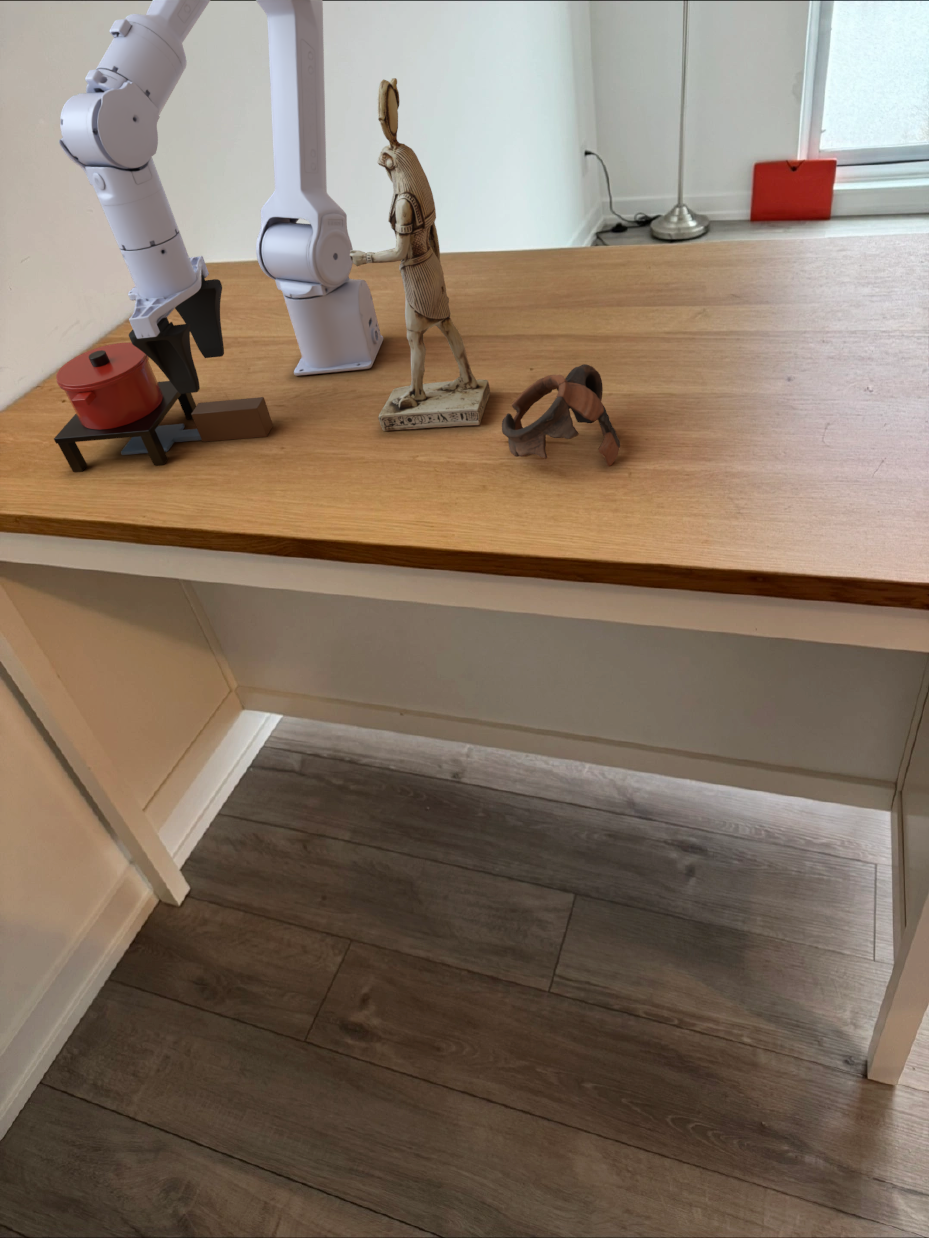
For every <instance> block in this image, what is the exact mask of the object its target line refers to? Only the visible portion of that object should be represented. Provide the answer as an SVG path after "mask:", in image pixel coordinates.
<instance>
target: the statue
mask: <svg viewBox="0 0 929 1238" xmlns="http://www.w3.org/2000/svg"><path fill="white" fill-rule="evenodd" d="M397 84H398V79H397V78H395V77H393V78H391V79H390V80H386V79H382V80H381V81H380V82H379V86H378V89H377V96H376V97H377V98H376V105H377V118H378V119H377V120H378V122H379V124H380V126H381V130H382V133H383V136H384V137H385V138H386V140H387V141H388V143H389V144H387V145H385V146H384V147H382V149H381V151H380V152H379V155H378V158H377V161H376V163H377V164H378V165H379V166H380V167H382V168H384V169H385V172H386V174H387V177H388V178H389V180H390V182H391V183H392V189H393V193H392V197H391V203H390V208H389V211H388V221H387V222H388V223H389V224H390V228H391V230H393V232H394V236H395V239H396V240H395V247H393V248H389V249H385V250H381V251H376V252H372V251H367V252H365V251H362V250H356V249H353V250H351V251H350V257H351V260H352V262H353V265H355V266H356V267H360V266H362V265H363V266H364V265H367V264H385V263H397V262H400V263H399V265H398V266H399V272H400V275H401V280H402V285H403V290H404V294H405V295H404V297H405V298H404V299H405V303H404V319H405V328H406V340H407V341H408V345H409V347H410V371H411V372H410V374H411V375H410V376H411V381H410V385H405V386H404V385H403V386H399V387H395V388H393V390H392V391H391V392H390V395H389V397H388V398H387V400H386V402H385V404H384V406H383V407H382V408H381V410H380V412H379V414H378V417H377V418H378V421H379V424H380V427H381V429H382V431H384V432H385V431H399V430H417V429H430V428H445V427H450V428H451V427H461V426H462V427H463V426H480V425H481V423H482V419H483V415H484V413H485V410H486V407H487V405H488V401H489V398H490V395H491V388H490V382H489V380H488V379H477V378H476V377H475V375H474V374H473V372H472V369H471V365H470V363H469V359H468V354H467V350H466V347H465V343H464V341H463V337H462V335H461V333H460V332H459V331H460V330H459V329H458V328H457V326H456V325H455V324H454V322H453V320H452V319H451V309H450V304H449V303H450V302H449V301H450V297H449V296H448V293H447V286H446V282H445V281H446V280H445V276H444V270H443V266H442V263H441V251H440V242H439V241H440V240H439V235H438V230H437V226H436V219H437V212H436V204H435V199H434V195H433V191H432V187H431V184H430V181H429V180H428V177H427V175H426V172H425V171H424V168H423V166H422V164H421V162H420V160H419V158H418V155H417V154H416V153H415V151H414V150H413V148H411V147H410V146H408V145H406V144H405V143H400V142H399V140H398V130H399V111H398V110H399V107H400V92H399V90H398V86H397ZM433 327H437V328H438V329H439V330H440V332H441V333H442V334H443V336H444V337H445V339H446V341H447V343H448V345H449V348H450V350H451V352H452V355H453V358H454V359H455V361H456V363H457V365H458V370H459V371H458V372H459V376H458V377H457V378H455V379H454V380H450V381H449V380H447V381H437V382H429V383H424V375H425V373H426V369H425V367H426V366H425V365H426V364H425V362H426V355H427V348H426V344H425V341H424V334H425V333H426V332H427V331H428V330H429V329H431V328H433Z"/></svg>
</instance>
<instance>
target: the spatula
mask: <svg viewBox="0 0 929 1238" xmlns="http://www.w3.org/2000/svg"><path fill="white" fill-rule="evenodd" d="M191 415H192V420H193V423H194V425H195V427H196V428H190V429H185V427H186V426H185V423H174V424H173V423H172V424H164V425H158V427H157V428H156V429H155V431H156V433H157V435H158V438H159V440H160V442H161V444H162V447H163V449H164V451H165V453H167V452H169V451H170V449H171V448H172V446H173V445H174V443H182V442H184V443H185V442H194V441H201V442H202V443H205V442H217V441H229V440H243V439H253V438H264V437H268V436H269V433H270V432H271V430H272V428H273V427H274V423H273V420H272V417H271V414H270V410H269V409H268V404H267V403H266V399H265V397H264V396H258V397H248V398H237V399H228V400H227V399H226V400H217V401H216V400H215V401H206V402H198V404H196V408H195V409H194V411H193V412H192V414H191ZM120 454H121V455H122V456H128V455H139V454H140V455H141V454H148V451H147V449H146V447H145V445H144V443H143V441H142V438H141V436H139V437H130V439H129V441H128V442H127V443H126V444H125V446H124V447H123V449H121V451H120Z"/></svg>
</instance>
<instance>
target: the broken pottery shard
mask: <svg viewBox="0 0 929 1238" xmlns="http://www.w3.org/2000/svg"><path fill="white" fill-rule="evenodd" d="M601 376H602V375H601V374H600V373H599V371H598V370H597V369H595V367H594V366H592V365H590V364H587V363H586V364H585V363H583V364H581V365H579V366H575V367H574V368H573V369H571V370H570V371H569V373H568V374H567V376H566V377H564V376H563V375H561V374H556V373H555V374H550V375H546V376H544V377H541V378H539V379H538V380H536V381H534V382H533V383H532V384H530V385H529V386H528V387H527V388H525V389H524V390H523V391H522V392H521V393H519V395H518V396H517V397H516V398H515V399H514V401H513V402H512V403H511V407H512V408H513V410H514V411H515V412H516V413H515V415H514V416H513V415H512V414H511V413H510V412H509V413H507V414H506V415H505V416H504V417H503V419H502V421H501V432H502V434H503V435H504V436H505V437H507V438H508V439H507V443H508V449H509V452H510V453H511V454H512V455H513V456H514V457H528V456H531V455H534V456H537V457H539V458H542V459H547V458H548V455H547V451H546V445H547V443H546V442H547V440H546V438H547V436H549V437H550V438H553V439H566V440H571V439H573V438H576V437H577V436H578V435H579V431H578V430H577V429H576V427H575V426H574V423H573V418H572V415H571V411H572V413H573V415H574V418H575V421H576V423H583V424H584V423H585V424H589V425H591V424H594V423H595V422H596V421H597V422H598V425H599V426H600V429H601V434H602V436H603V437H604V438H603V440H602V442H601V443H600V445H599V447H598V452H599V454H600V455H601V456H603V458H604V462H605V463H606V465H607V466H608V467H610V466H612V465H613V464H614V462H615V461H616V459H617V457H618V455H619V452H620V449H621V441H620V438H619V436H618V434H617V432H616V429H615V428H614V426H613V423H612V422H611V420H610V416H609V414H608V413H607V409H606V407H605V405H604V403H603V402H602V400H603V399H602V398H603V392H604V391H603V390H604V389H603V387H604V386H603V380H602V377H601ZM554 390H556V391H557V395H556V398H555V399H554V400H553V401H552V403H551V405H550V407H548V409H546V411H545V412H544V413H543V414H541V416H540V417H538V419H536V420H535V421H533V422H531V423H529V424H528V425H527V426H524V427H523V425H522V419H523V418H524V416H525V415H526V414H527V412H528V411H529V410H530V408H531V407H532V406H534V404H535V403H537V402H539V401H540V400H541V399H542V398H544V397H545V396H547V395H549V394H551V393H552V392H553V391H554ZM570 410H571V411H570Z"/></svg>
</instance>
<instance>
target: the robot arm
mask: <svg viewBox="0 0 929 1238" xmlns="http://www.w3.org/2000/svg"><path fill="white" fill-rule="evenodd" d="M255 1H256V3H257V4H258V5H259V7H260V8H261V9H262V10H263V12H264V13H265V15H266V18H267V21H266V22H267V40H268V62H269V64H268V65H269V87H270V106H271V107H270V108H271V130H272V131H271V132H272V155H273V177H274V190H273V192H272V194H271V195H270V196H269V198H268V199H267V200H266V201H265V203H264V204H263V206H261V209H260V228H259V232H258V234H257V238H256V244H255V254H256V260H257V263H258V265H259V268H260V269H261V271H262V272H263V274H264V275H265V276H266V277H268V278H269V279H271V280H273V281H274V282H275V285H276V289H277V290H279V291H281V292H282V296H283V299H284V303H285V306H286V309H287V312H288V315H289V320H290V323H291V325H292V329H293V333H294V334H295V339H296V342H297V345H298V348H299V351H300V355H301V358H300V359H299V361H298V363H297V365H296V366H295V368H294V370H293V374H294V376H296V377H297V376H307V375H318V374H319V375H320V374H329V373H340V372H348V371H349V372H350V371H360V370H368V369H371V368H372V367H373V364H374V362H375V360H376V357H377V356H378V353H379V351H380V348H381V346H382V344H383V341H384V336H383V335H382V334H381V330H380V326H379V321H378V317H377V312H376V308H375V304H374V300H373V296H372V293H371V289H370V286H369V284H368V282H367V281H366V280H365V279H359V278H358V279H354V278H350V273H351V271H352V267H353V265H354V263H353V262H352V260H351V257H350V251H351V250H354V248H353V245H352V241H351V238H350V235H349V231H348V218H347V215H348V214H347V213H346V212H345V210H344V208H342V207H341V206H340V205H339V204H338V203H337V202H336V201H335V200H334V199H333V198H332V197H331V196H330V195H329V194H328V191H327V188H328V187H327V148H326V147H327V143H326V142H327V141H326V139H327V138H326V101H325V99H326V98H325V97H326V96H325V95H326V94H325V52H324V51H325V46H324V5H323V4H324V3H323V2H324V1H323V0H255ZM210 2H211V0H151V2H150V5H149V7H148V9H147V11H146V13H131V14H128V15H127V16H125V18H121V19H115V20H114V22H113V23H112V25H111V27H110V28H109V33H110V35H111V36H112V37H113V38H112V40H111V42H110V43H109V46H108V47H107V49H106V51H105V52H104V54H103V56H102V58H101V60H100V61H99V63H98V64H97V66H96V68H95V69H89V70H88V72H87V74H86V76H85V77H84V80H85V82H86V83H87V84H86V87H85V92H81V93H77V94H74V95H72V96H70V97H69V98H68V99H67V100H66V102H64V105H63V107H62V109H61V112H60V117H59V120H60V123H59V127H60V134H61V138H60V139H59V140H58V144H59V145H60V148H61V149H62V151H63V152H64V154H65V155H66V157H68V159H70V161H72V163H74V164H76V165H77V166H79V167H80V168H81V169H82V171H83V172H84V174H85V176H86V178H87V181H88V182H89V185H90V186H92V188H93V190H94V192H95V194H96V197H97V199H98V202H99V204H100V206H101V208H102V211H103V214H104V216H105V218H106V220H107V223H108V225H109V227H110V230H111V232H112V235H113V237H114V240H115V241H116V244H117V247H118V248H119V251H120V254H121V257H122V258H123V260H124V263H125V265H126V267H127V270H128V272H129V275H130V277H131V279H132V283H133V284H134V287H132V288H131V289H130V290H129V291H128V292H127V296H128V298H129V300H130V301H133V302H134V308H133V311H132V314H131V316H130V317H129V318H128V321H129V323H130V326H131V328H132V330H131V331H130V332H129V333H128V338H129V340H130V343H132V344H133V345H134V346H135V347H137V348H138V349H140V350H141V351H142V352H144V353H145V354H146V355H147V356H148V357H149V360H151V361H152V362H153V363H154V364H155V365H156V366H157V367H158V368H159V369H160V371H161V372H162V373H163V374H164V376H165V377H166V378H167V380H168V381H170V382H171V383H172V385H173V386H174V387H175V389H176V390H177V391H178V392H179V394H185V393H191V394H196V393H198V392H200V391H199V390H200V388H201V387H200V380H199V375H198V372H197V369H196V366H195V362H194V358H193V354H192V349H191V347H192V346H191V336H192V338H193V341H194V343H195V345H196V346H197V348H198V351H199V352H200V354H201V355H202V356H203V358H204V359H210V358H211V359H212V358H220V357H223V356H224V355H225V346H224V338H223V332H222V330H223V329H222V323H221V299H222V293H223V285H222V282H221V280H220V279H217V278H215V279H207V280H206V278H207V277H208V276H209V275H210V272H209V270H208V267H207V264H206V261H205V259H204V256H203V255H198V256H189V253H188V250H187V248H186V245H185V243H184V239H183V237H182V234H181V231H180V229H179V226H178V223H177V221H176V218H175V215H174V213H173V211H172V208H171V204H170V203H169V199H168V197H167V194H166V191H165V189H164V186H163V182H162V181H161V180H162V179H161V178H160V175H159V172H158V170H157V167H156V165H155V164H156V163H155V161H154V160H153V156H155V155H156V154H157V150H158V144H159V134H158V133H159V132H158V122H159V119H160V117H161V116H160V115H161V113H162V111H163V109H164V107H165V106H166V104H167V102H168V100H169V99H170V97H171V95H172V93H173V91H174V90H175V88H176V86H177V84H178V83H179V81H180V79H181V77H182V75H183V74H184V71H185V69H186V68H187V56H186V52H185V49H184V45H183V43H184V42H185V40H186V38H187V37H188V35H189V34H190V33H191V31H192V29H193V28H194V26H195V25H196V23H197V21H199V19H200V17H201V16H202V14H203V12H204V11H205V10H206V8H207V7H208V5H209V3H210ZM299 220H305V221H307V222H308V223H301V222H298V221H299ZM174 310H175V311H176V312H177V313H178V315H179V316H180V317H181V319H182V320H183V322H184V323H183V324H182V323H181V324H173V323H174V322H173V321H170V322H169V319H168V317H169V316H170V314H172V312H173V311H174Z"/></svg>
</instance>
